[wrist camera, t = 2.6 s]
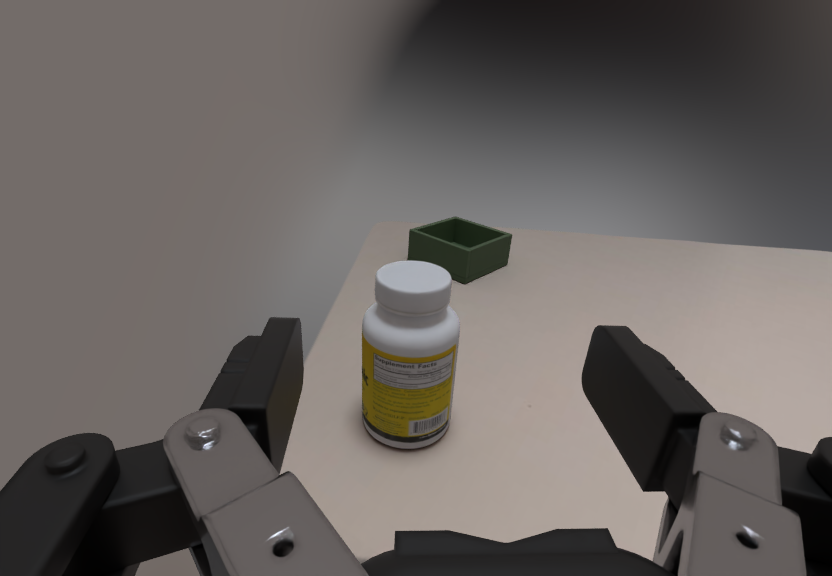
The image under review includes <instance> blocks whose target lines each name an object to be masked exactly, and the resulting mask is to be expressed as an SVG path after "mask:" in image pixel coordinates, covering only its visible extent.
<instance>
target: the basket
mask: <svg viewBox="0 0 832 576" xmlns="http://www.w3.org/2000/svg"><path fill="white" fill-rule="evenodd" d="M511 239H512V234H509V233H506V232H503V231H500V230H496V229H493V228H490V227H487V226H484V225H481V224H477V223H474V222H471V221H468V220H465V219H462V218H459V217H452V218H448V219H445V220H441V221H438V222H435V223H431V224H428V225H424V226H421V227H417V228H414V229H410V232H409V248H408V260H409V261H423V262H428V263H432V264H435V265H438V266H440V267H442V268H444V269H445V270H446V271H448V272H449V274H450V275H451V279H454V280H456V281H458V282H461V283H463V284H466V283H468V282H470V281H472V280H475V279H477V278H479V277H481V276H483V275H485V274H488V273H490V272H492V271H494V270H496V269H499V268H501V267H503V266H505V265H507V263H508V257H509V251H510V245H511Z"/></svg>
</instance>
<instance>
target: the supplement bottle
mask: <svg viewBox="0 0 832 576" xmlns="http://www.w3.org/2000/svg"><path fill="white" fill-rule="evenodd" d="M451 283H452V279H451V275H450V274H449V272H448V271H446V270H445V269H444V268H442V267H440V266H438V265H435V264H432V263H428V262H423V261H398V262H393V263H389V264H387V265H384V266H382V267H381V268H380V269H379V270H378V271H377V273H376V283H375V298H376V302H375V303H374V304H373V305H371V306H370V307H369V309H368V310H367V311H366V313H365V315H364V318H363V323H362V415H363V421H364V424H365V427H366V429H367V430H368V432H369V433H370V434H371V435H372V436H373V437H374V438H375V439H377V440H378V441H380V442H382V443H384V444H386V445H389V446H392V447H396V448H403V449H414V448H420V447H424V446H427V445H429V444H432V443H434V442H435V441H437V440H438V439H439V438H440V437H442V435H443V434H444V433H445V432H446V430H447V428H448V426H449V422H450V416H451V408H452V399H453V390H454V380H455V371H456V362H457V353H458V344H459V334H460V322H459V319H458V316H457V314H456V313H455V311H454V310H453V309H452V308H451V307H450V306H449V303H450V296H451Z"/></svg>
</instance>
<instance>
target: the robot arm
mask: <svg viewBox="0 0 832 576" xmlns="http://www.w3.org/2000/svg"><path fill="white" fill-rule="evenodd" d="M301 334H302V333H301V322H300V319H299V318H276V317H271V318H270V319H269V320H268V322H267V324H266V327H265V329H264V331H263V333H262V335H261V336H247V337H246V338H245V339H243V340H242V341H241V342H239V343H238V344H237V345H235V346H234V347H233V349H232V351H231V353H230V355H229V356H228V358H227V362H225V364H224V366H223V368H222V369H221V373H220V374H219V375H218V377H217V378H216V380H215V382H214V384H213V386H212V387H211V389H210V391H209V393H208V395H207V397H206V399H205V400H204V402H203V404H202V406H201V408H200V409H199V411H197V412H194V413H191V414H189V415H187V416H185V417H183V418H181V419H180V420H178V421H177V422H175V423H174V424H173V425H172V426H171V427H170V428H169V430H168V431H167V433H166V435H165V436H164V439H162V440H160V441H156V442H153V443H149V444H144V445H140V446H135V447H131V448H126V449H122V450H117V451H115V449H114V446H113V443H112V441H111V440H110V439H109V438H108V437H106V436H104V435H101V434H96V433H84V434H77V435H72V436H68V437H65V438H62V439H60V440H57V441H55V442H53V443H50V444H49V445H47V446H45V447H43V448H41V449H40V450H39V451H37V452H36V453H34V454H33V455H32V456H31V457H30V458H28V459H27V460H26V461H25V463H24V464H23V465H22V466H21V467H20V468H19V470H18V471H17V472H16V473H15V474H14V476H13V477H12V478H11V479H10V480H9V482H8V483H7V484H6V485H5V487H4V488H3V489H2V490H1V491H0V576H135V574H136V571H137V569H138V567H139V565H140V562H144V561H147V560H150V559H153V558H157V557H160V556H163V555H167V554H170V553H173V552H176V551H180V550H183V549H186V548H189V550H190V552H191V555H192V557H193V560H194V562H195V564H196V567H197V569H198V571H199V574H200V576H832V437H826V438H823V439H821V440H820V441H819V442H818V444H817V446H816V448H815V449H814V451H813V453H812V454H809V453H805V452H800V451H796V450H791V449H787V448H783V447H778V446H777V445H776V443H775V441H774V440H773V439H772V437H771V436H770V435H769V434H768V433H766V432H765V431H764V430H763V429H761V428H760V427H758V426H757V425H755V424H753V423H752V422H750V421H748V420H746V419H743V418H741V417H738V416H735V415H732V414H727V413H721V412H717V411H716V410H715V409H714V408H713V407H712V406H711V405H710V404H709V403H708V401H707V400H706V399H705V398H704V397H703V396H702V395H701V394H700V393H699V392H698V391H697V390H696V389H695V388H694V387H693V386H692V385H691V384H690V383H689V382H688V381H685V377H684V376H683V375H682V374H681V373H680V372H679V371H678V370H675V367H674V366H673V365H672V364H671V363H670V362H669V361H668V360H667V358H666V357H665V356H664V355H662V354H661V353H659V352H657V351H656V350H654V349H653V348H651V347H649V346H648V345H646V344H643V343H642V342H641V341H640V339H639V338H638V337H637V336H636V335H635V334H634V333H633V332H632V331H631V330H630V329H629V328H628V327H626V326H601V325H600V326H597V327H596V328H595V329H594V331H593V334H592V337H591V341H590V345H589V349H588V352H587V356H586V360H585V364H584V367H583V371H582V387H583V391H584V393H585V395H586V397H587V399H588V400H589V402H590V404H591V405H592V407H593V409H594V410H595V412H596V414H597V415H598V417H599V419H600V420H601V422H602V424H603V425H604V427H605V429H606V430H607V432H608V434H609V435H610V437H611V439H612V440H613V442H614V444H615V445H616V447H617V449H618V450H619V452H620V454H621V455H622V457H623V459H624V460H625V462H626V464H627V465H628V467H629V469H630V470H631V472H632V474H633V475H634V477H635V479H636V480H637V482H638V484H639V485H640V487H641V489H642V490H643V492H651V491H665V492H666V494H667V495H668V499H667V501H666V503H665V506H664V509H663V514H662V518H661V523H660V528H659V533H658V538H657V542H656V547H655V552H654V557H653V561H651V560H649V559H647V558H644V557H642V556H640V555H638V554H635V553H632V552H629V551H626V550H624V549H620V548H617V547H616V545H615V543H614V541H613V539H612V536H611V534H610V532H609V530H608V528H604V529H555V530H552V531H549V532H545V533H542V534H538V535H535V536H531V537H528V538H524V539H521V540H518V541H514V542H510V543H503V542H497V541H493V540H489V539H484V538H480V537H475V536H471V535H467V534H462V533H458V532H453V531H449V530H444V531H395V544H394V550H391V551H387V552H384V553H382V554H379V555H377V556H375V557H372V558H370V559H369V560H367V561H365V562H364V563H362V564H360V563H359V561H358V560H357V559H356V557H355V556H354V554H353V553H352V552H351V550H350V549H349V548H348V546H347V545H346V544H345V542H344V541H343V540H342V538H341V537H340V535H339V534H338V533H337V531H336V530H335V529H334V527H333V526H332V525H331V523H330V522H329V521H328V519H327V518H326V516H325V515H324V514H323V512H322V511H321V510H320V508H319V507H318V506H317V504H316V503H315V501H314V500H313V499H312V497H311V496H310V495H309V493H308V492H307V491H306V489H305V488H304V487H303V485H302V484H301V482H300V481H299V480H298V478H297V477H296V476H295V475H294V474H293V473H291V472H289V471H287V472H285V473H283V474H281V475H279V474H280V470H281V467H282V463H283V459H284V455H285V451H286V448H287V444H288V440H289V436H290V433H291V429H292V425H293V421H294V417H295V414H296V410H297V406H298V402H299V399H300V395H301V391H302V385H303V373H304V367H303V351H302V335H301Z"/></svg>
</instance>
